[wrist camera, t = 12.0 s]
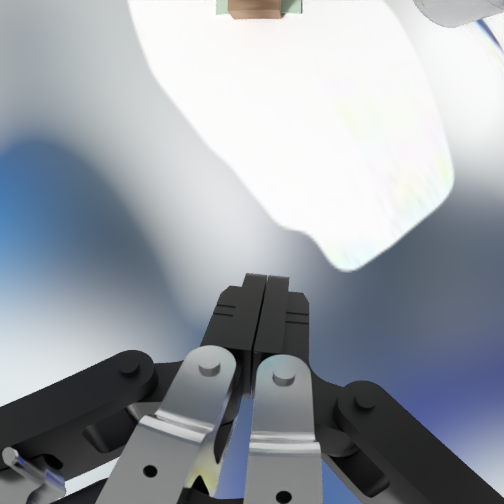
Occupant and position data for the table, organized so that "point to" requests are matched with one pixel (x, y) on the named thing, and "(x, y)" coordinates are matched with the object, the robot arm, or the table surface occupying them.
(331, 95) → the table surface
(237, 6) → the walnut block
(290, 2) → the green mat
